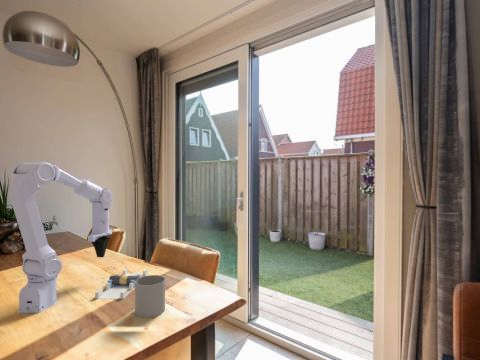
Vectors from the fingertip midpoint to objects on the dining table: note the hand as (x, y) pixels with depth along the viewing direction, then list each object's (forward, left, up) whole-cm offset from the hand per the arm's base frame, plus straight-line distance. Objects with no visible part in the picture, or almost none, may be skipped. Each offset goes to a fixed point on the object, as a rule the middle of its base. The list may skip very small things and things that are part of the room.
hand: (100, 256), depth 107 cm
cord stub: (-4, -11, -9) cm, 14 cm away
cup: (-24, -26, -10) cm, 37 cm away
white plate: (-4, -11, -10) cm, 15 cm away
